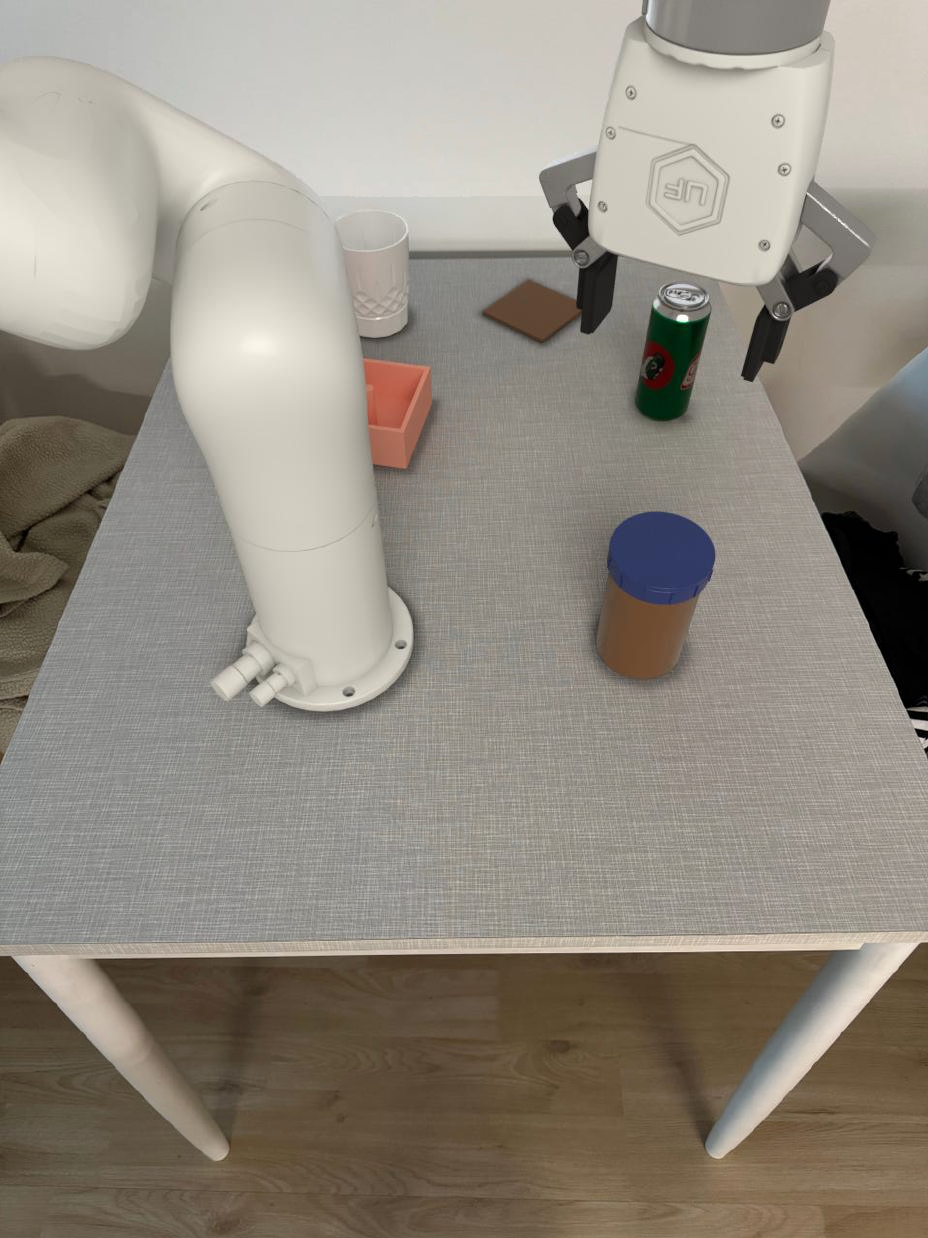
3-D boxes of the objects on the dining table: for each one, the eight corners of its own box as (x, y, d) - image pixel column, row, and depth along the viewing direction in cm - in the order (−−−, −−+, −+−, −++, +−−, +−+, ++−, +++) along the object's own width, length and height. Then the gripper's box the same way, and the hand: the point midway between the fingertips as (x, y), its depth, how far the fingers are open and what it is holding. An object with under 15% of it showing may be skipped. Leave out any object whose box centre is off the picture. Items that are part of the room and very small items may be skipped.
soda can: (685, 427, 82) (713, 314, 73) (631, 421, 83) (652, 307, 73) (688, 394, 85) (715, 281, 76) (636, 388, 86) (656, 275, 76)
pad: (542, 343, 90) (542, 339, 90) (482, 314, 94) (482, 311, 93) (587, 308, 94) (587, 305, 94) (528, 282, 97) (528, 279, 97)
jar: (650, 694, 64) (676, 606, 56) (579, 648, 67) (594, 557, 58) (696, 640, 67) (727, 549, 59) (626, 599, 70) (647, 505, 61)
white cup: (329, 309, 94) (316, 219, 86) (397, 292, 96) (390, 202, 88) (355, 349, 90) (344, 258, 82) (425, 330, 92) (421, 239, 84)
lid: (674, 622, 57) (679, 606, 55) (586, 570, 59) (589, 553, 58) (729, 560, 60) (735, 543, 58) (643, 513, 63) (647, 496, 61)
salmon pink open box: (432, 403, 85) (427, 313, 77) (406, 469, 79) (399, 378, 71) (256, 379, 87) (235, 289, 79) (220, 440, 81) (193, 350, 74)
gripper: (515, -5, 38) (509, 338, 51) (933, 63, 32) (803, 427, 46) (586, -57, 42) (564, 274, 55) (970, -4, 36) (840, 349, 50)
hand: (672, 343), depth 50 cm, fingers open, 9 cm apart
